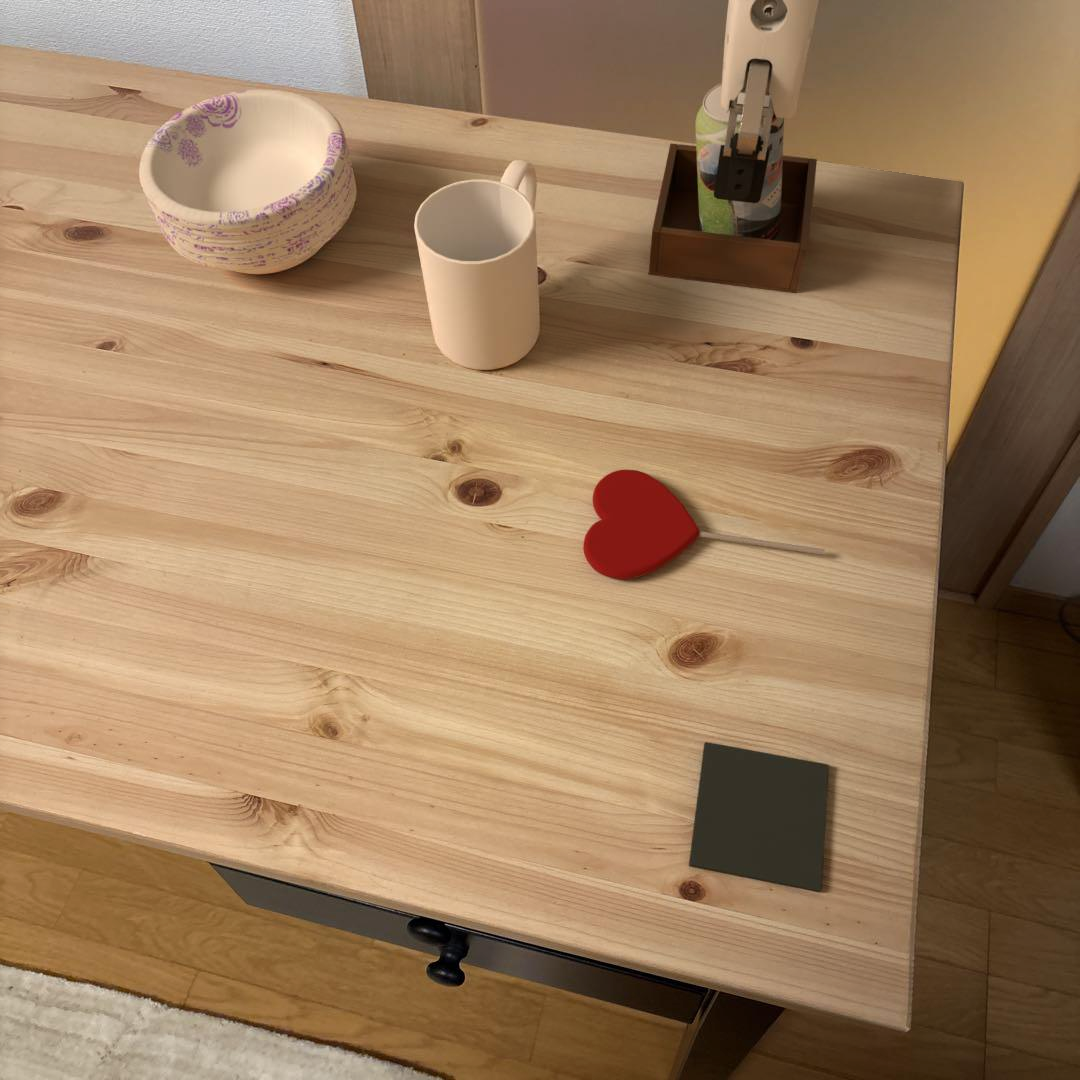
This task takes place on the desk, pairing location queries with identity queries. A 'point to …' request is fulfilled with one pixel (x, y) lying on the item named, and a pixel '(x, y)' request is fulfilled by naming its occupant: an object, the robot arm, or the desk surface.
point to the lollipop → (645, 527)
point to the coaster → (760, 817)
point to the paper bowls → (249, 180)
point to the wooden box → (730, 256)
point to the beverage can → (709, 138)
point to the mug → (482, 268)
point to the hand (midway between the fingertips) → (743, 154)
